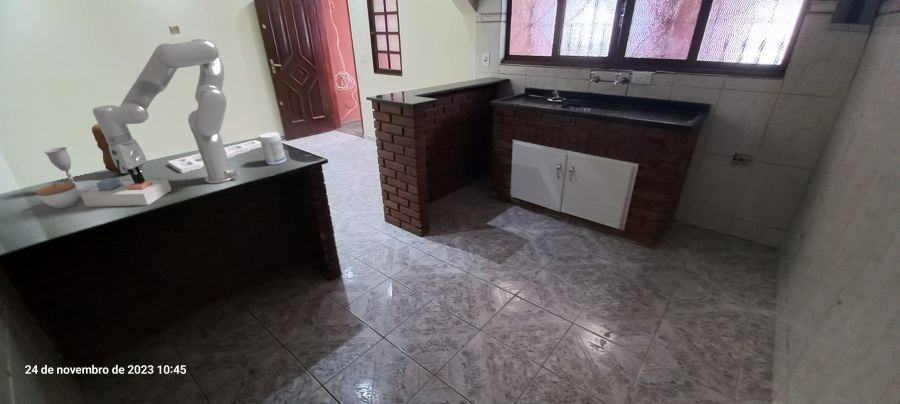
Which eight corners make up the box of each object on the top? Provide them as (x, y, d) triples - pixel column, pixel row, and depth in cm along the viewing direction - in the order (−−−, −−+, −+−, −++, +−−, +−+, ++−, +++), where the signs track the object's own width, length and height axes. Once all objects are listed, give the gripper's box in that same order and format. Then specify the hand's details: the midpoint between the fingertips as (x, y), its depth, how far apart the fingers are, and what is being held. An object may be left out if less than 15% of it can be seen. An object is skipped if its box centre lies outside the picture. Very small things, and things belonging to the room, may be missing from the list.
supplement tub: (287, 158, 188) (281, 131, 182) (284, 164, 180) (277, 136, 173) (268, 159, 187) (261, 132, 180) (264, 166, 178) (256, 137, 172)
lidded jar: (46, 205, 141) (33, 184, 137) (82, 196, 148) (71, 176, 144) (47, 213, 135) (34, 191, 130) (85, 204, 142) (73, 183, 138)
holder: (256, 144, 213) (255, 140, 211) (271, 149, 203) (270, 145, 201) (169, 166, 181) (167, 161, 180) (182, 174, 171) (180, 169, 170)
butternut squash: (137, 166, 180) (115, 117, 168) (152, 170, 175) (131, 120, 163) (104, 175, 169) (78, 124, 157) (119, 180, 164) (94, 127, 152)
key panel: (171, 190, 153) (167, 179, 151) (148, 204, 141) (143, 193, 138) (115, 191, 152) (110, 180, 150) (86, 206, 140) (80, 195, 138)
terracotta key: (152, 187, 147) (149, 180, 146) (143, 192, 143) (140, 185, 142) (140, 187, 147) (137, 180, 146) (131, 192, 143) (128, 185, 141)
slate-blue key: (122, 184, 146) (118, 178, 145) (112, 189, 142) (108, 183, 141) (109, 185, 146) (106, 178, 145) (99, 190, 142) (96, 183, 140)
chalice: (90, 186, 157) (70, 148, 149) (72, 193, 151) (50, 153, 143) (80, 184, 159) (60, 146, 151) (61, 190, 154) (39, 151, 145)
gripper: (113, 144, 129) (135, 189, 137) (143, 133, 142) (161, 174, 150) (92, 145, 129) (115, 190, 137) (124, 133, 142) (144, 175, 150)
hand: (139, 182), depth 144 cm, fingers closed
